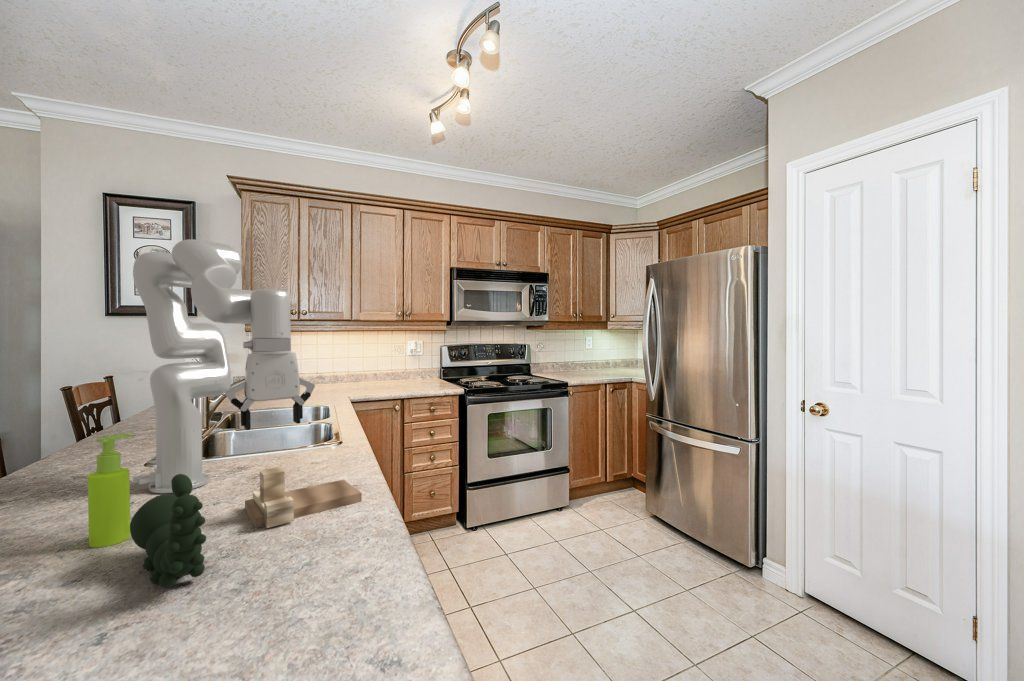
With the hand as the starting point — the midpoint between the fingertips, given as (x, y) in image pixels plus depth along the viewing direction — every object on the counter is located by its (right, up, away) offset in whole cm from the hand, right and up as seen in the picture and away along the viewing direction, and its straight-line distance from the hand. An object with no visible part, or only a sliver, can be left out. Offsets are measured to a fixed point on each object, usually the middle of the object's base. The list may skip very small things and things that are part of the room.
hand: (272, 425), depth 96 cm
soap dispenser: (-25, -20, -10) cm, 34 cm away
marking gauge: (0, -19, +1) cm, 19 cm away
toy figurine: (-6, -21, -20) cm, 30 cm away
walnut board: (+4, -20, +6) cm, 21 cm away
